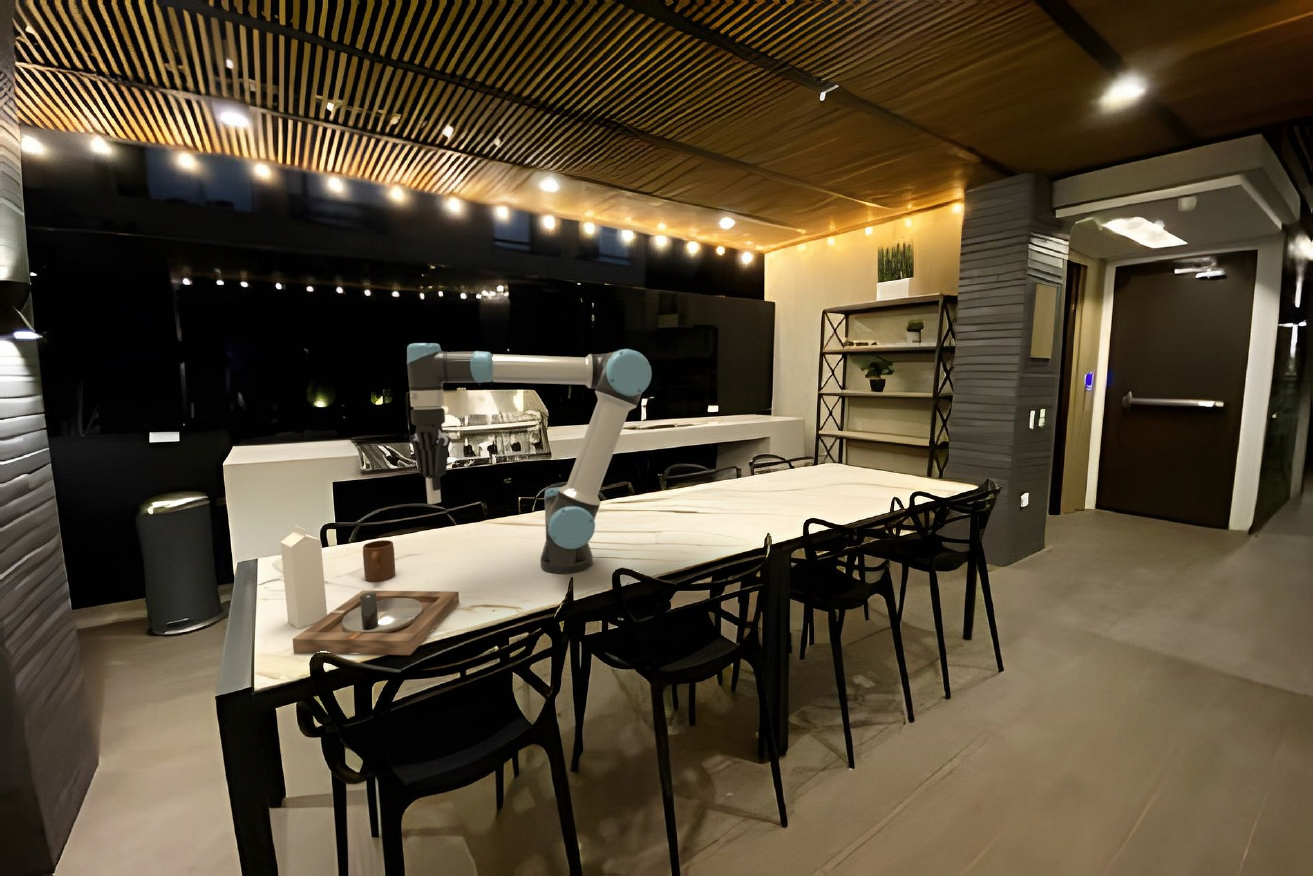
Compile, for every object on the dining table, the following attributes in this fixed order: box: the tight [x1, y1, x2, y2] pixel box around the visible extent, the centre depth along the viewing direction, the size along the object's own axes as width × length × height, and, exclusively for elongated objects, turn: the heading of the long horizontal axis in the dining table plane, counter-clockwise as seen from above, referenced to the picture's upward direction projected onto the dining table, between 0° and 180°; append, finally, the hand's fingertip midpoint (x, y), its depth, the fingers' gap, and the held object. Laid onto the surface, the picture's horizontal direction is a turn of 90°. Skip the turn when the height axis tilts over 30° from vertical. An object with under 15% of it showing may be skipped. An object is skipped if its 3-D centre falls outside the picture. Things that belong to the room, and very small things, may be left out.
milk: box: [280, 525, 328, 630], centre depth 120 cm, size 6×6×22 cm
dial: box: [342, 592, 423, 633], centre depth 118 cm, size 16×16×8 cm
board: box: [292, 589, 460, 656], centre depth 119 cm, size 24×24×3 cm
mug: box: [362, 539, 396, 583], centre depth 145 cm, size 12×8×9 cm, turn 20°
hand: (434, 502), depth 132 cm, fingers closed
